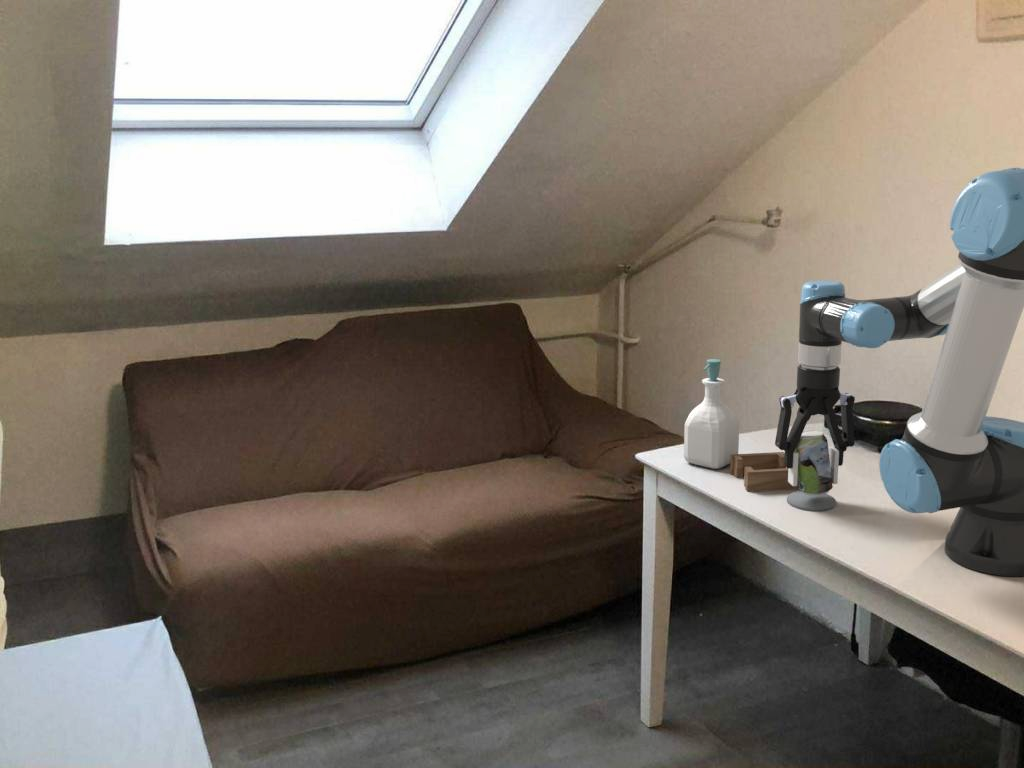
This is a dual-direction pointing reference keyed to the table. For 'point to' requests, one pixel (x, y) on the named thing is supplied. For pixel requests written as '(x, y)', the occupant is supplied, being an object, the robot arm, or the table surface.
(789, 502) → the coaster
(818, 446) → the beverage can
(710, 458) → the soap bottle
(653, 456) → the table surface
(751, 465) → the caddy
